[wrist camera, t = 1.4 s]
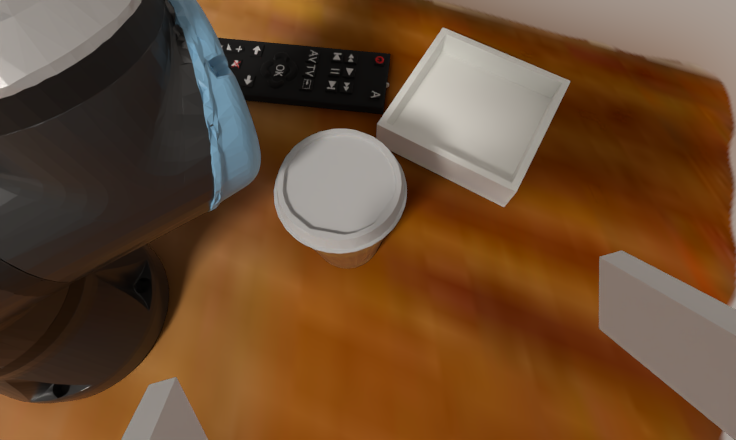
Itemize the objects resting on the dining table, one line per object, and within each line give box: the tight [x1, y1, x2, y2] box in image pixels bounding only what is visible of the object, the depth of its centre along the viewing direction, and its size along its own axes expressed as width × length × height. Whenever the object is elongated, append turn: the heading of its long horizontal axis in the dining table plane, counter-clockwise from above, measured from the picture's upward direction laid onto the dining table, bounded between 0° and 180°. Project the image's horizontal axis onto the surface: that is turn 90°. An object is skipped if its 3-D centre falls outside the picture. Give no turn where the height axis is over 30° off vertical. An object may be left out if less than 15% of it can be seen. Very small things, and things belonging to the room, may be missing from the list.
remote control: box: [218, 38, 390, 114], centre depth 44 cm, size 8×32×2 cm, turn 83°
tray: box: [376, 28, 571, 207], centre depth 41 cm, size 15×15×4 cm
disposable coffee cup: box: [274, 129, 407, 268], centre depth 32 cm, size 10×10×12 cm
